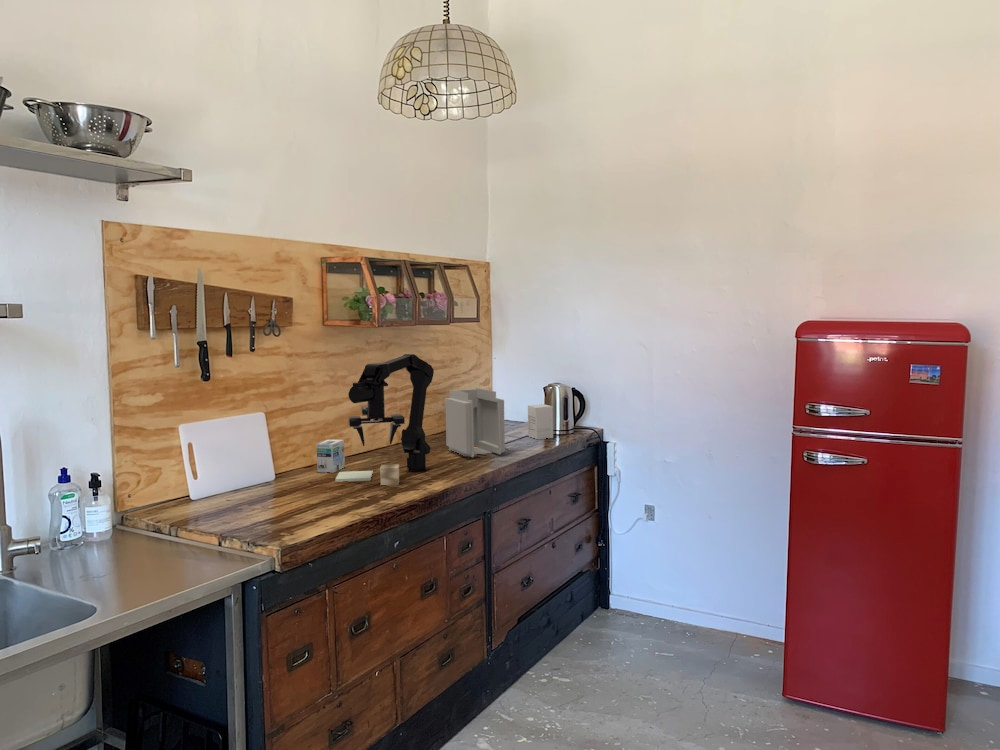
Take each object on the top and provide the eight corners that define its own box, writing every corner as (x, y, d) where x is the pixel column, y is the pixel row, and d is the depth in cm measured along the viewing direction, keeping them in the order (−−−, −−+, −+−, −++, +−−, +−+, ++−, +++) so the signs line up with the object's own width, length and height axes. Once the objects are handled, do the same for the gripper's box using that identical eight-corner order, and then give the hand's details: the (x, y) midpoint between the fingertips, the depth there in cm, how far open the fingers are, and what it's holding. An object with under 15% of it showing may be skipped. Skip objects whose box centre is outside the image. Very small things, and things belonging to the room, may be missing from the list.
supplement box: (544, 435, 347) (544, 404, 346) (553, 438, 339) (553, 406, 337) (527, 437, 343) (527, 405, 342) (536, 439, 335) (535, 407, 334)
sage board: (373, 473, 267) (372, 470, 267) (370, 480, 255) (370, 477, 255) (339, 474, 266) (339, 471, 266) (335, 481, 254) (335, 479, 254)
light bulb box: (333, 473, 269) (332, 444, 268) (316, 472, 270) (315, 443, 269) (345, 467, 279) (344, 439, 278) (329, 466, 281) (328, 438, 280)
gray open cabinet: (478, 446, 320) (477, 386, 318) (506, 456, 297) (505, 392, 295) (442, 449, 313) (440, 389, 311) (467, 460, 289) (466, 394, 287)
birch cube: (399, 481, 254) (398, 464, 254) (398, 485, 248) (398, 467, 248) (381, 482, 254) (381, 464, 253) (380, 485, 248) (380, 468, 247)
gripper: (399, 396, 263) (400, 439, 264) (346, 398, 258) (347, 442, 259) (404, 400, 253) (405, 444, 254) (349, 402, 247) (350, 448, 249)
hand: (377, 445), depth 254 cm, fingers open, 9 cm apart
